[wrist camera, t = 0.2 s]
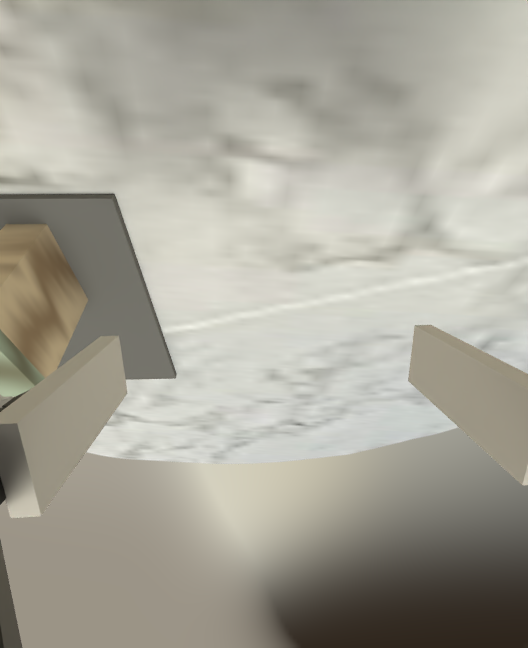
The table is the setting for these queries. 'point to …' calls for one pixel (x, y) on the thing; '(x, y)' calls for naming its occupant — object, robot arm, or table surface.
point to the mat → (100, 276)
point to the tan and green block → (34, 306)
